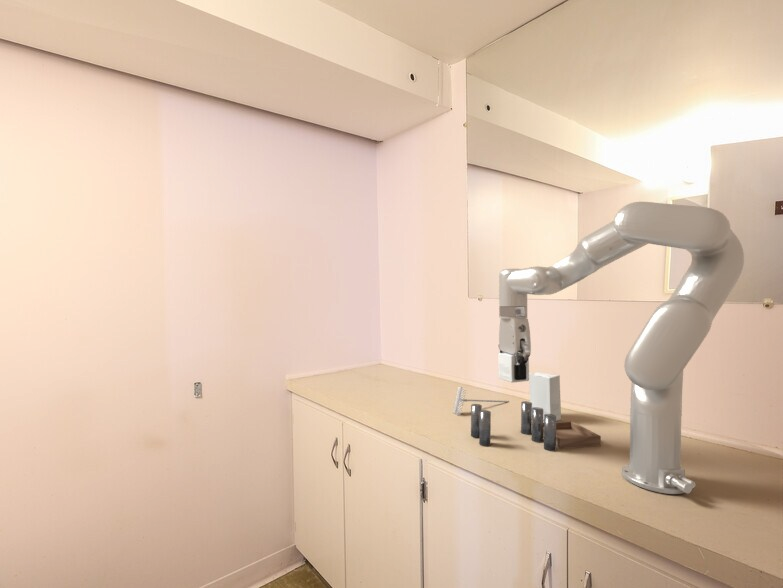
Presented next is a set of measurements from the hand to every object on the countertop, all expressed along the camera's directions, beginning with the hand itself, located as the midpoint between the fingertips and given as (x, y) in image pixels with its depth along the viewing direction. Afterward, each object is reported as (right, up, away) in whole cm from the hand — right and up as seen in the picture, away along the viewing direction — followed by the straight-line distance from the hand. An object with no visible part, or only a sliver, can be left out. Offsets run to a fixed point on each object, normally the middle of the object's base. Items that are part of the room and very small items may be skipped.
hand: (513, 376), depth 109 cm
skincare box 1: (0, -1, 0) cm, 1 cm away
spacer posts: (0, -19, 0) cm, 19 cm away
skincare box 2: (+17, -19, +21) cm, 33 cm away
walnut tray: (+16, -19, +4) cm, 25 cm away
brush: (-1, -19, +32) cm, 37 cm away
